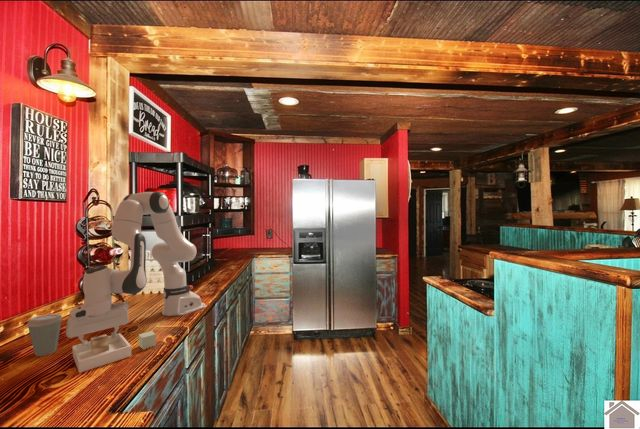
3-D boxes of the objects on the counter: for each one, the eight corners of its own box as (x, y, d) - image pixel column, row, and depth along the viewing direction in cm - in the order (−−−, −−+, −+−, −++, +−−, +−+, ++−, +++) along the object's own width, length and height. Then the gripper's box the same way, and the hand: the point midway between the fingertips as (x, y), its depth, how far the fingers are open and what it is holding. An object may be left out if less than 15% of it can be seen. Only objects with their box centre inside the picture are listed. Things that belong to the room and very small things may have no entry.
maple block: (106, 346, 123) (105, 334, 123) (109, 349, 119) (108, 337, 119) (91, 350, 119) (90, 338, 119) (93, 354, 116) (92, 341, 116)
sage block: (152, 342, 128) (151, 330, 128) (156, 345, 124) (155, 334, 124) (139, 346, 124) (138, 334, 124) (142, 350, 121) (142, 338, 121)
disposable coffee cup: (46, 346, 126) (44, 311, 126) (71, 346, 126) (69, 311, 125) (20, 359, 116) (18, 321, 115) (47, 359, 115) (45, 320, 115)
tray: (120, 342, 129) (120, 333, 128) (131, 356, 116) (131, 345, 116) (72, 355, 117) (72, 345, 117) (79, 372, 105) (78, 361, 104)
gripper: (126, 299, 129) (127, 330, 129) (64, 311, 114) (66, 347, 114) (130, 302, 124) (131, 334, 125) (66, 315, 110) (68, 352, 110)
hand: (99, 341), depth 119 cm, fingers open, 8 cm apart
